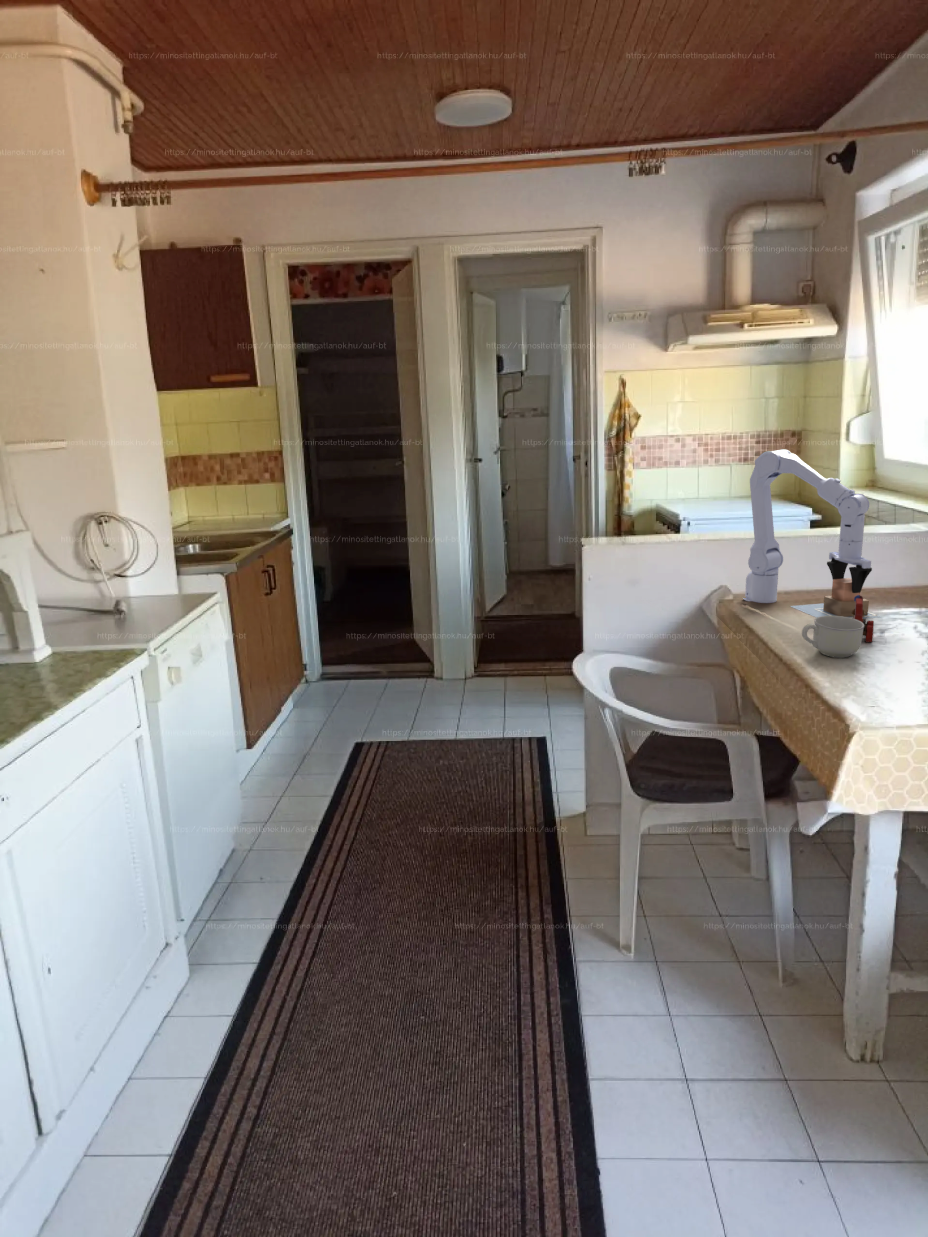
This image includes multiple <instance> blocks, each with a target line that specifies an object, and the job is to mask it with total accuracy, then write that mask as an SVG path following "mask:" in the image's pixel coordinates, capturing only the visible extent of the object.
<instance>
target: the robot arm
mask: <svg viewBox="0 0 928 1237" xmlns="http://www.w3.org/2000/svg"><path fill="white" fill-rule="evenodd" d="M752 470H753V471H752V472H751V476H750V478H749V488H750V501H751V513H752V524H753V535H754V541H753V543H752V545H751V547H750V549H749V550H750V554H749V558H748V563H747V564H748V568H749V569H750V570H751V571H750V572H749V573H748V574H747V575H746V579H745V592H744V593H745V594H744V597H746V598H743V597H742V598H743V599H744V601H746V602H754V603H759V604H760V603H761V604H772V603H776V602H777V600H778V585H779V584H778V583H779V582H778V581H779V568H780V567H781V566H782V565H783V562H784V555H783V553H782V551H781V550H780V544H779V542H778V540H776V539H775V529H774V516H773V502H772V492H771V485H772V484H773V482H774V481H775V480H776V479H777V478H778V477H779V476H780V475H782V474H792V475H795V476H796V477H797V478H799V479H800V480H803V481H804V482H806V483H807V484H809V485H811V486H812V487H814V488H816V492H817V495H818V496H819V497H820V498H821V499H823V500H824V501H826V502H827V503H828V504H830V505H832V506H833V507H834V508H836V509H837V511H838V514H839V515H840V517H841V518H840V526H839V527H840V528H839V542H838V551H831V552H830V551H829V554H828V559H829V560H830V561H826V565H827V567H828V569H829V572H830V574H831V578H832V580H833V579H843V578H845V573H846V569H847V567H848V566H849V565H853V566H850V567H848V570H849V573H850V578H851V579H852V593H860V594H861V593H862V592H861V591H862V590H863V586H864V584H865V581H866V580H867V577H868V576H869V574H871V572H872V571H873V568H872V567H871V566H872V560H870V559H867V558H865V557H863V556H862V555H863V543H864V530H865V520H866V515H865V514H866V513H867V512H868V511H869V509H870V502H869V499H868V497H866V496H865V495H864V493H856V491H855V490H854V489H850V488H848V487H847V486H846V485H844V484H842V483H841V481H842V480H841V479H839V478H838V477H837V478H833V477H828V478H826V477H824V476H823V475H821V474H820V473H818V472H817V470H815V469H814V468H813V467H811V466H810V465H809V464H808V463H806V462H805V461H803V460H802V459H801V458H800V457H799V456H798V455H797V454H795V453H793V452H791V451H790V450H788V449H783V448H781V449H778V450H771V451H770V450H768V451H764V452H762V453H761V454H760V455H759V456H757V458H756V459H755V460H754V467H753V469H752ZM743 599H742V600H743Z"/></svg>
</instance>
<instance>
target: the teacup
mask: <svg viewBox="0 0 928 1237" xmlns="http://www.w3.org/2000/svg"><path fill="white" fill-rule="evenodd" d="M863 628H864V624H863V623H862V622H861V621H859V620H856V619H853V618H849V617H843V616H821V617H817V618H816V617H815V618H814V624H813V623H809V624H806V625H804V626H803V628H802V630H801V636H802V638H803V640H805V641H806V642H808V643H809V644H811V645H812V646H813V648H815V649H817V650H818V651H819V652H820V654H822V655H824V656H827V657H831V658H842V659H843V658H848V657H850V656H852V655H854V654H855V653H857V652H858V651H859V650H860V648H861V646H862V641H863ZM810 629H813V636H812V638H810V637H809V636H808V632H809V630H810Z"/></svg>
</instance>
